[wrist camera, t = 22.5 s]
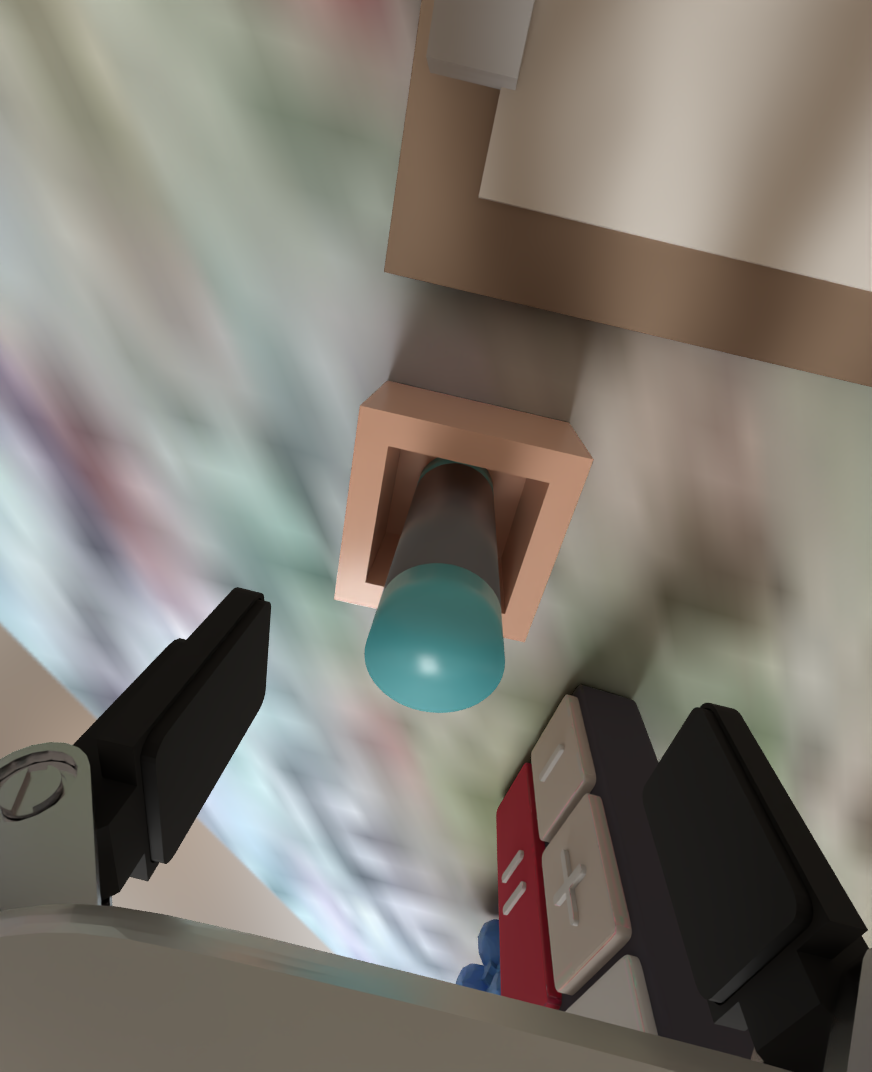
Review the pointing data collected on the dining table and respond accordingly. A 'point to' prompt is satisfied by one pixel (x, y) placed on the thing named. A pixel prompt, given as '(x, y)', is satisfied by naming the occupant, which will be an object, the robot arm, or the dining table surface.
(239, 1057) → the robot arm
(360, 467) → the pen cup
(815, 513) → the dining table surface
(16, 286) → the dining table surface
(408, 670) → the marker
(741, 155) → the clipboard
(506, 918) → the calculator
